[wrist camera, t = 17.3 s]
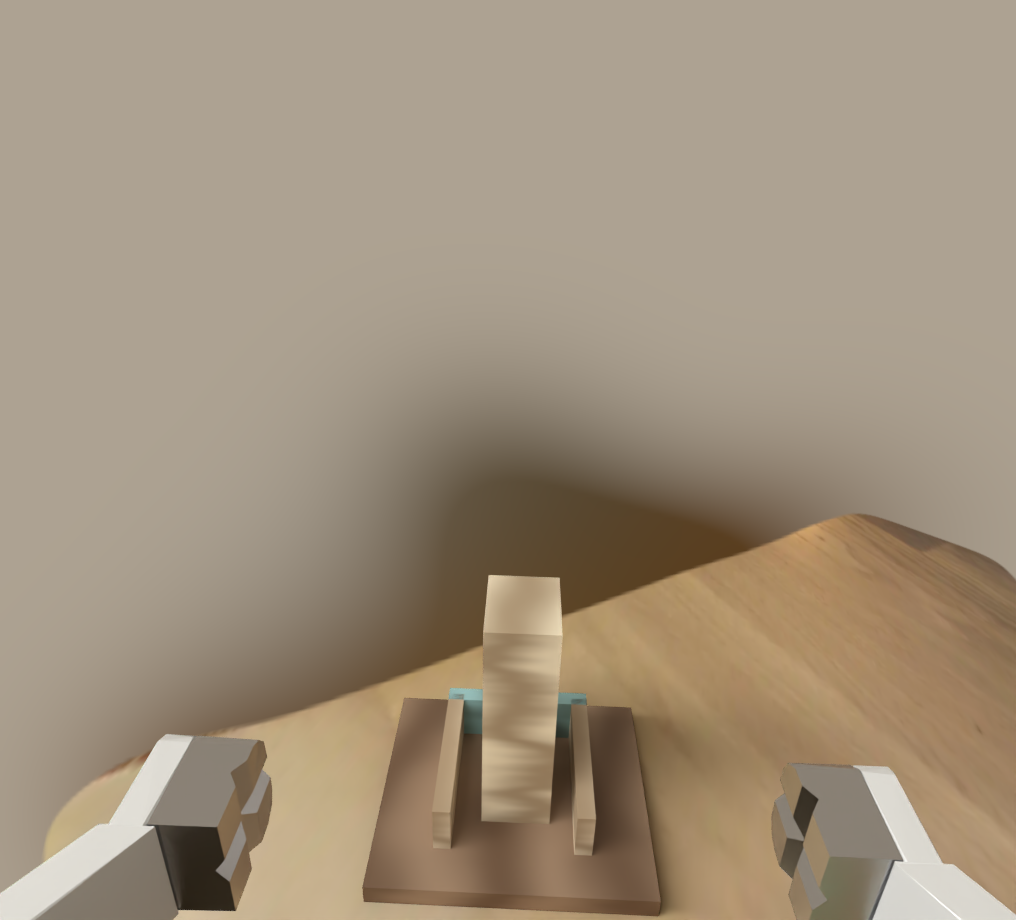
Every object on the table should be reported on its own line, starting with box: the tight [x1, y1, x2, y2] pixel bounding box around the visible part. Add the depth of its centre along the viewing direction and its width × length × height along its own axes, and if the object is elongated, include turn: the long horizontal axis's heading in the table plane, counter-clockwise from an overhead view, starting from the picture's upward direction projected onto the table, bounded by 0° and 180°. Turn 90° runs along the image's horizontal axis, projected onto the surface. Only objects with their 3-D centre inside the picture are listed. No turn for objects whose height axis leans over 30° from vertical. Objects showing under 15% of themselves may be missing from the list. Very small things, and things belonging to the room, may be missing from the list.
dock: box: [362, 688, 661, 916], centre depth 46 cm, size 16×14×4 cm
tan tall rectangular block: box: [481, 575, 562, 824], centre depth 43 cm, size 4×5×14 cm
